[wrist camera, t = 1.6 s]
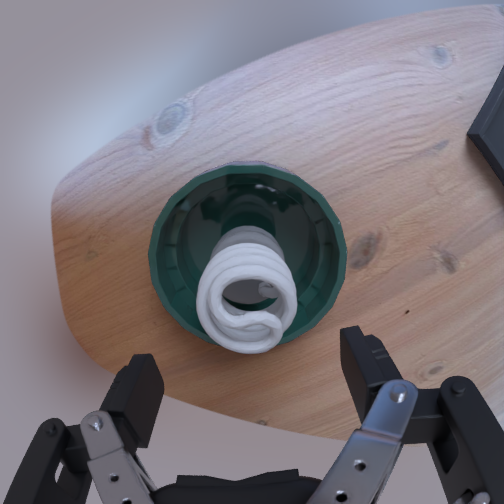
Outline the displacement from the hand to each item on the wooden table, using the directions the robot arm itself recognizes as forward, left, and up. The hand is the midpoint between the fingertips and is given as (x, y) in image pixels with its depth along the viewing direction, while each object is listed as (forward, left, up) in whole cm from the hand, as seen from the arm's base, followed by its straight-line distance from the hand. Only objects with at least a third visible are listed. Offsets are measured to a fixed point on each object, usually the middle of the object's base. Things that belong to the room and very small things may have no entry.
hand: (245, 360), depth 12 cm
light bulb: (0, 0, -15) cm, 15 cm away
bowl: (0, 0, -15) cm, 15 cm away
